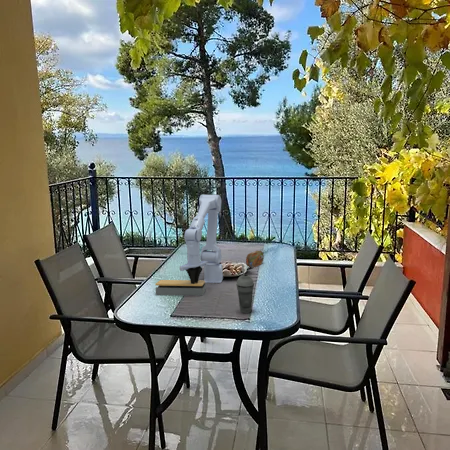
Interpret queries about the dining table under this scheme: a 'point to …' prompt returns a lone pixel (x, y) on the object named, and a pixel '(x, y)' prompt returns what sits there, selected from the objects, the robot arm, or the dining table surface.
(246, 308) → the beverage cup
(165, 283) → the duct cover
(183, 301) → the dining table surface
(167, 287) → the cable duct
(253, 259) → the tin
